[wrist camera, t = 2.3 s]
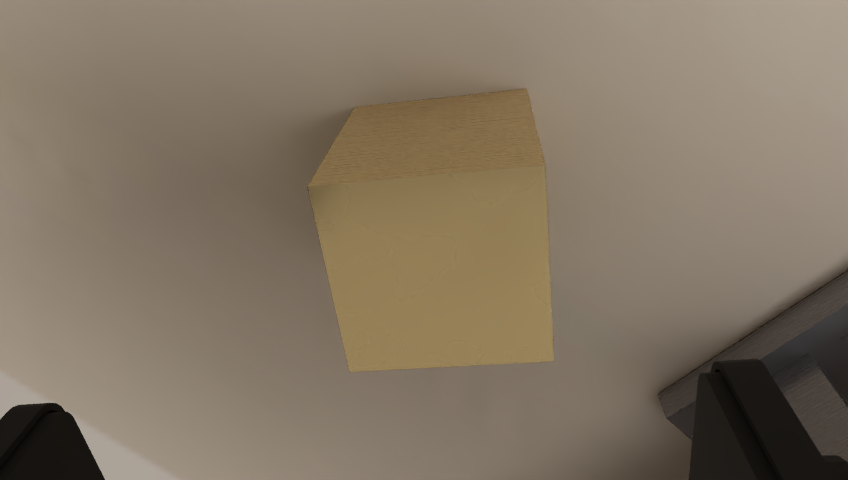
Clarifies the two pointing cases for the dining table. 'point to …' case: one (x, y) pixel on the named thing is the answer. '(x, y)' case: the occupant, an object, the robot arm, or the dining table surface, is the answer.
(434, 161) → the tan wooden cube
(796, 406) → the beam stand
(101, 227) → the dining table surface
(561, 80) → the dining table surface
